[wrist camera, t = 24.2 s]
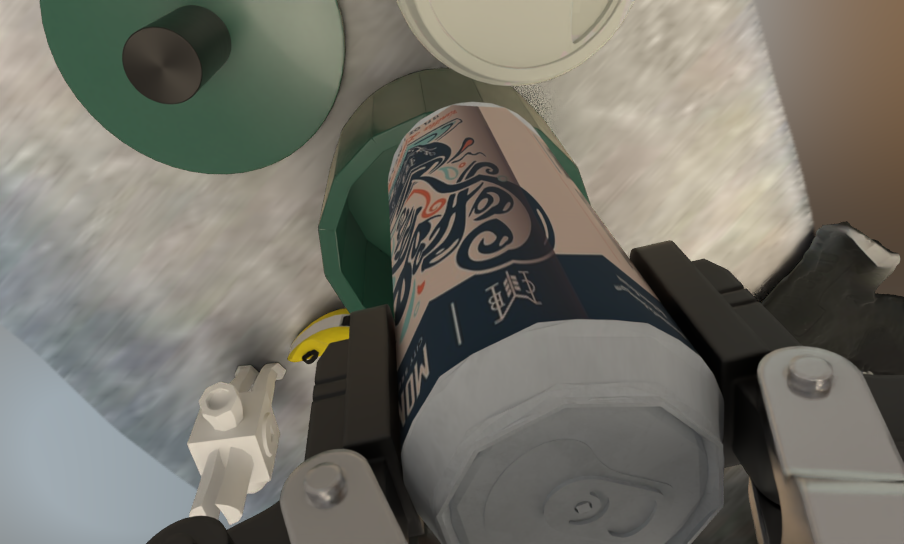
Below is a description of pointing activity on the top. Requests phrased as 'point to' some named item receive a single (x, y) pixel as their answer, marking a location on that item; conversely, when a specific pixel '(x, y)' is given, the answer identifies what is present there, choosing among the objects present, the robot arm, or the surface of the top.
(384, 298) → the pot
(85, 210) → the top surface
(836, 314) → the handgun
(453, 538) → the beer can
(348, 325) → the yellow curved piece
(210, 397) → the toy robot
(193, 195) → the top surface
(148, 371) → the top surface
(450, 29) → the coffee cup
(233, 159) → the lid
